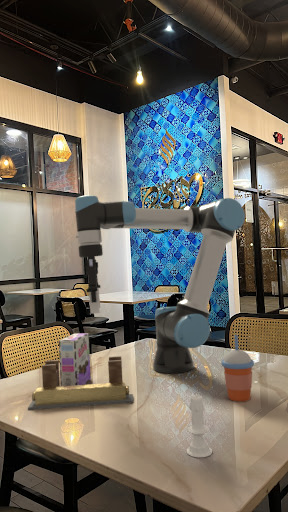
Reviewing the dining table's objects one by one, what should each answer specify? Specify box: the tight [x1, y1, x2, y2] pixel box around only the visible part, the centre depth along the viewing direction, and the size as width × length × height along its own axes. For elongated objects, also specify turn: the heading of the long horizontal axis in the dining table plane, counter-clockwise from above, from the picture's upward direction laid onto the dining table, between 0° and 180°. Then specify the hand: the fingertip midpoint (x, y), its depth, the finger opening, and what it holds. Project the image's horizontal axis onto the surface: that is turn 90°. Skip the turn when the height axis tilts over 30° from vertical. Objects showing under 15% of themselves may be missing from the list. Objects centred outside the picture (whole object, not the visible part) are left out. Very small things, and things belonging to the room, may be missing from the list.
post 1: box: [41, 359, 61, 388], centre depth 129 cm, size 6×8×10 cm
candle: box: [186, 393, 213, 459], centre depth 87 cm, size 5×5×12 cm
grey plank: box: [27, 393, 134, 411], centre depth 122 cm, size 30×6×1 cm, turn 93°
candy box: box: [58, 332, 92, 386], centre depth 140 cm, size 14×6×16 cm, turn 168°
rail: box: [31, 381, 130, 405], centre depth 122 cm, size 28×4×4 cm, turn 93°
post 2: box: [107, 355, 124, 383], centre depth 130 cm, size 6×8×10 cm
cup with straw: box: [221, 334, 255, 402], centre depth 119 cm, size 9×9×18 cm
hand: (95, 310), depth 133 cm, fingers open, 13 cm apart
